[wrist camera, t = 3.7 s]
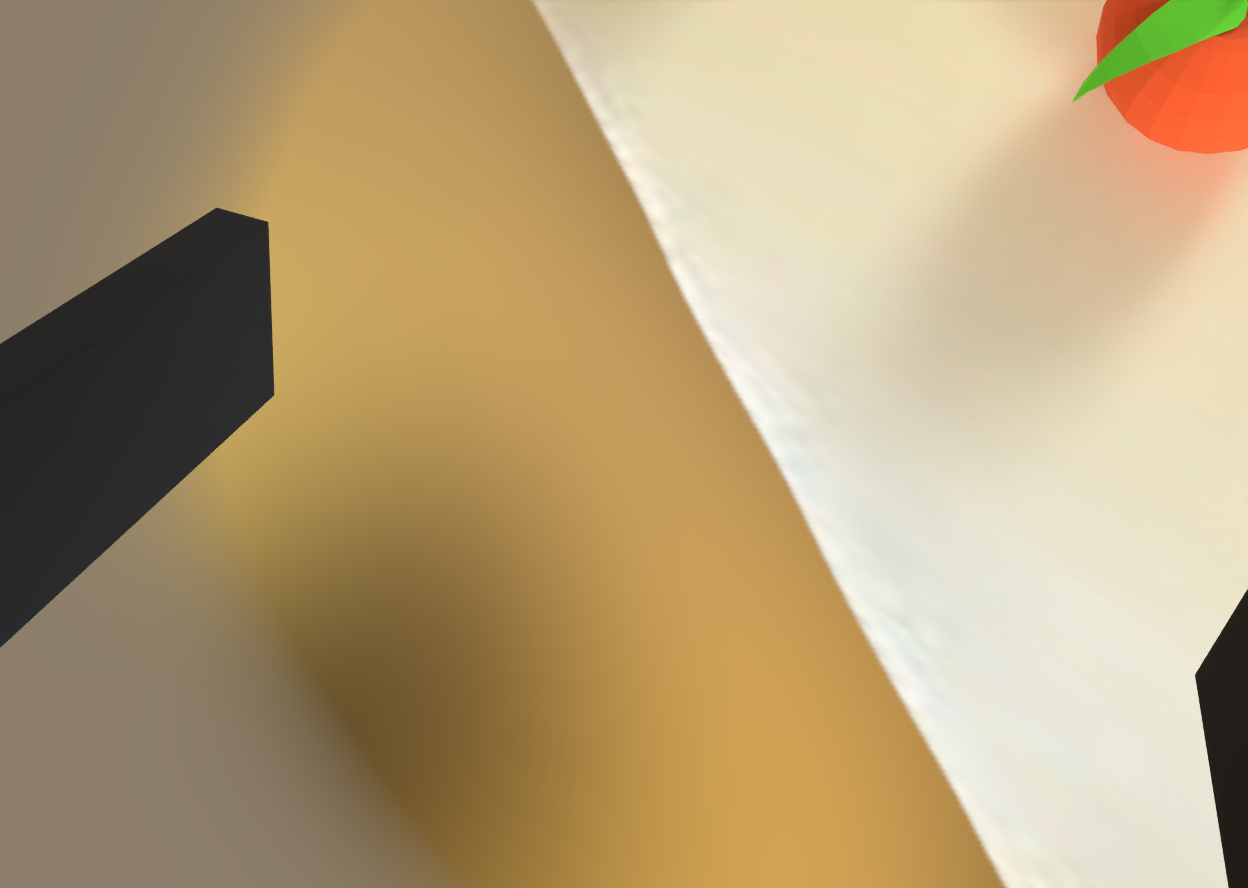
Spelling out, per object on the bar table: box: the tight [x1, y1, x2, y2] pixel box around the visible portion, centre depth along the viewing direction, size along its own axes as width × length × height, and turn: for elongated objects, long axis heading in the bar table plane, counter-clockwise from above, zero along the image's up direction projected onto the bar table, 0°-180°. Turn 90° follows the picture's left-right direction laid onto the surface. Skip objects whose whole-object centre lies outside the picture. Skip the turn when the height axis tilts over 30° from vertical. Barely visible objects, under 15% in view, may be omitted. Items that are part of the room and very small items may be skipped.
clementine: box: [1072, 0, 1248, 154], centre depth 34 cm, size 8×7×7 cm
